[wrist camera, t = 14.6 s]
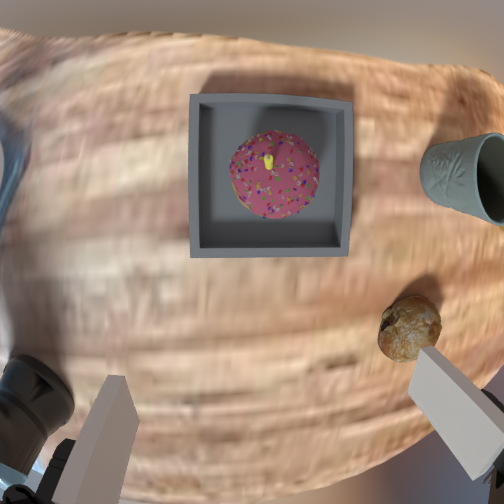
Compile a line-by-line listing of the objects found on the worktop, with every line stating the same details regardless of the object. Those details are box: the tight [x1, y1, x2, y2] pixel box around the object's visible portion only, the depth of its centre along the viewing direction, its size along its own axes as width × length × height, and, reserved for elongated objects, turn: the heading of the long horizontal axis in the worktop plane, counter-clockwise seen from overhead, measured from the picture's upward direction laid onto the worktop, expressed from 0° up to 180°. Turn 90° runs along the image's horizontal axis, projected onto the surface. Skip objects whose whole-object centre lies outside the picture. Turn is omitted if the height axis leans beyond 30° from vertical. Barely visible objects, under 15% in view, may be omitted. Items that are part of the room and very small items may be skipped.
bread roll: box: [378, 295, 442, 362], centre depth 37 cm, size 10×10×8 cm
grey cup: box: [420, 133, 504, 226], centre depth 28 cm, size 10×10×12 cm
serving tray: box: [188, 93, 353, 258], centre depth 31 cm, size 17×17×4 cm
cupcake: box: [229, 130, 320, 219], centre depth 26 cm, size 9×8×12 cm
